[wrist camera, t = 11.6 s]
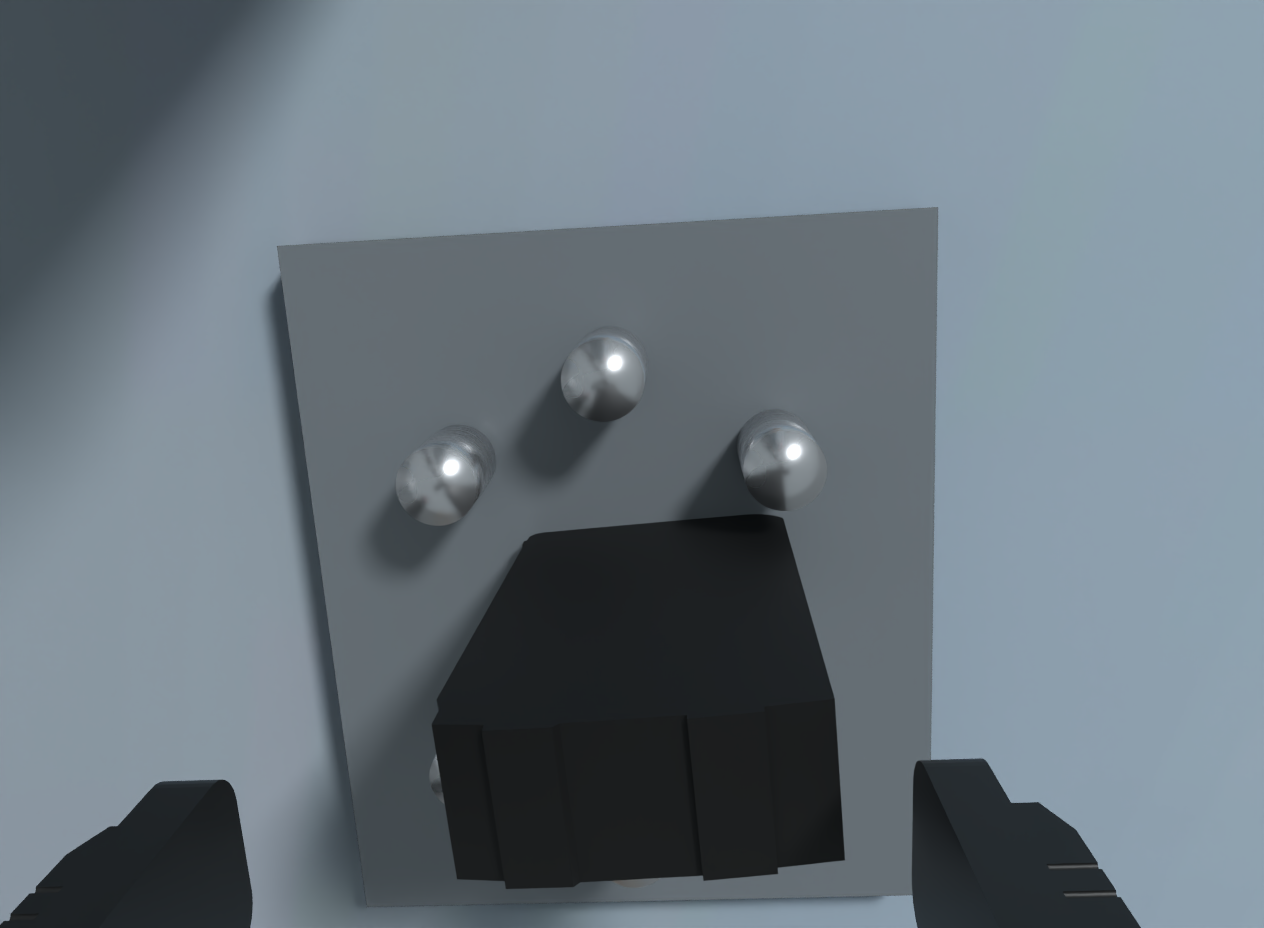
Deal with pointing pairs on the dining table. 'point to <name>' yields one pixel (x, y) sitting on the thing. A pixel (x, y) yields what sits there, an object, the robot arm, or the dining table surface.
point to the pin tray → (620, 480)
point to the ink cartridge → (642, 712)
